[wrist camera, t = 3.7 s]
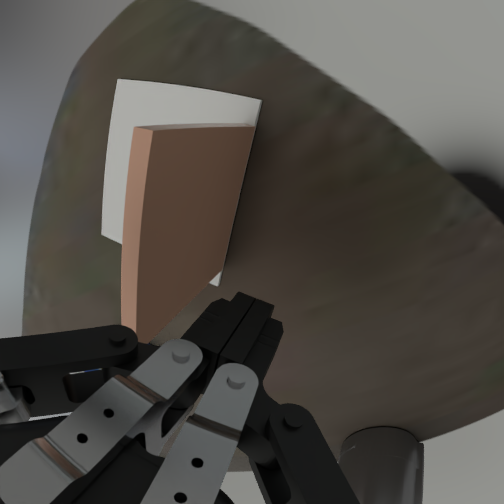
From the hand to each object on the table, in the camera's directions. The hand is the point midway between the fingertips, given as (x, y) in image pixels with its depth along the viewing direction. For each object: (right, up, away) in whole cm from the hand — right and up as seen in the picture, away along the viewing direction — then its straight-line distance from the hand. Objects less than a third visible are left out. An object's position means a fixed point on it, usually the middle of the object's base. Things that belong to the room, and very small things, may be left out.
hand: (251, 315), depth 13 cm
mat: (-7, +9, +14) cm, 18 cm away
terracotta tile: (-2, +7, +12) cm, 14 cm away
